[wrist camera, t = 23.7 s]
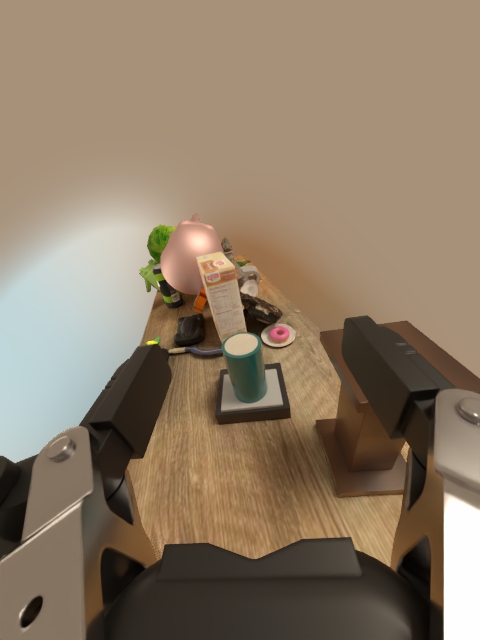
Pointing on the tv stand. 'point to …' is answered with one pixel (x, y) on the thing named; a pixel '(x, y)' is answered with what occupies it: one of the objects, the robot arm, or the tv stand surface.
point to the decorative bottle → (232, 260)
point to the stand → (374, 421)
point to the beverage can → (167, 289)
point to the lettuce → (159, 240)
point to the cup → (245, 366)
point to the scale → (264, 409)
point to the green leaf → (242, 262)
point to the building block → (200, 301)
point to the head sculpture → (188, 254)
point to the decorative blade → (195, 350)
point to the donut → (278, 335)
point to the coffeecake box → (222, 294)
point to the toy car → (189, 330)
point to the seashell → (250, 288)
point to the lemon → (154, 341)
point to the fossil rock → (259, 309)
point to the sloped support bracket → (248, 271)
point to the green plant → (149, 275)
